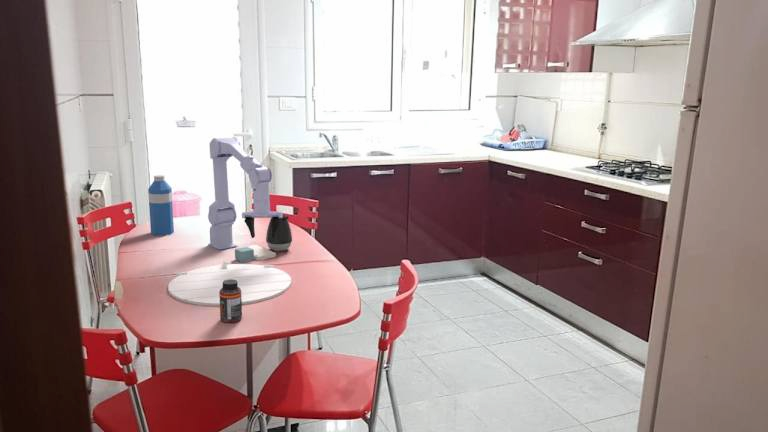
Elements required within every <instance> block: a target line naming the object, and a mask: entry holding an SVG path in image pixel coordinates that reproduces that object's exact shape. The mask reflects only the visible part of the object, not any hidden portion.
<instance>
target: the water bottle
mask: <svg viewBox="0 0 768 432" xmlns="http://www.w3.org/2000/svg"><path fill="white" fill-rule="evenodd" d="M147 191H148V193H147V194H148V206H149V207H148V209H149V221H150V223H149V224H150V226H149V227H150V235H152V236H156V237H157V236H159V237H160V236H162V237H163V236H169V235H172V234H173V233H174V232H175V229H174V228H175V227H174V208H173V191H172V187H171V185H170V184H169V183H168V182H167V181H166V180H165V175H163V174H161V175H160V174H155V175H154V176H153V181H152V183H151V185H149V187H148V189H147Z"/></svg>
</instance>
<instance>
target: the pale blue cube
mask: <svg viewBox="0 0 768 432" xmlns="http://www.w3.org/2000/svg"><path fill="white" fill-rule="evenodd" d="M234 259H235V261H239V262H240V263H244V262H250V261H255V259H254V249H251V248H249V247H246V246H242V248H241V247H237V248H235V249H234Z"/></svg>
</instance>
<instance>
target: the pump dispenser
mask: <svg viewBox="0 0 768 432" xmlns="http://www.w3.org/2000/svg"><path fill="white" fill-rule="evenodd" d="M271 219H272V218H269V223H268V224H267V225H268V226H267V229H266V234H265V235H266V237H265V243H266V244H267V246H268V248H269V249H270V251H272V252H284V251H286V250H288V249H289V248H290V247H291V244H292V242H293V233H292V229H291V225H290V222H289V219H290V217H289V216H286V215H285V214H284V213H283V217H282V218H280V221H279V223H278V226H277V230H276V236H275V238H272V224H271Z"/></svg>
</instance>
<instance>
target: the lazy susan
mask: <svg viewBox="0 0 768 432" xmlns="http://www.w3.org/2000/svg"><path fill="white" fill-rule="evenodd" d="M222 262H223V263H222V264H219V265H212V266H206V267H200V268H197V269H192V270H190V271H183V272H178V273H176V275H175V276H176V277H174V278H173V279H172V280H171V281H170V282H169V283H168V288H167V289H168V290H167V291H168V293H169V294H170V296H172V297H173V298H175V300H178V301H181V302H184V303H187V304H193V305H198V306H205V307H206V306H209V307H212V306H213V307H220V297H219V296H220V294H219V292H220V289H222V288H223V281H224V280H228V279H234V280H237V283H238V286H237V287H239V288H240V289H241V297H242V306H243V305H249V304H254V303H259V302H263V301H267V300H270V299H273V298H277V297H278V296H280V295H281V294H282V295H283V294H284V293H285V292H287V291H288V290H289V289H290V288H291V286H292V277H291V276H290V275H289V274H288V273H287V272H286V271H284V270H282V269H279V268H275V267H276V266H275V265H273V264H264V265H261V264H260V265H259V264H250V263H231V264H230V262H229V261H227V260H223V261H222ZM288 288H289V289H288ZM287 289H288V290H287ZM286 290H287V291H286ZM284 291H285V292H284Z"/></svg>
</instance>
